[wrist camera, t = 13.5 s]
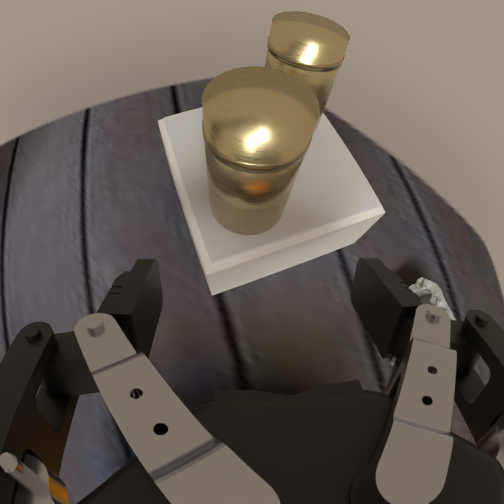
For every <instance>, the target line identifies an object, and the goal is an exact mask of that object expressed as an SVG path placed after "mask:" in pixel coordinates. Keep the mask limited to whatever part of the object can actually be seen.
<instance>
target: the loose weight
mask: <svg viewBox="0 0 504 504" xmlns="http://www.w3.org/2000/svg"><path fill="white" fill-rule="evenodd" d="M319 113H320V107H319V102H318V99H317V97H316V95H315V94H314V92H313V91H312V90H311V89H310V88H309V86H307V85H306V84H305V83H304V82H303V81H301V80H300V79H298V78H296V77H295V76H293V75H291V74H288V73H286V72H283V71H280V70H277V69H272V68H267V67H242V68H237V69H233V70H229V71H227V72H224V73H222V74H220V75H219V76H217V77H215V78H214V79H213V80H212V81H211V82H210V83H209V84H208V85H207V86H206V88H205V90H204V92H203V95H202V114H203V120H202V130H203V139H204V142H205V155H206V167H207V179H208V190H209V201H210V208H211V212H212V214H213V216H214V218H215V219H216V220H217V222H218V223H219V224H220V225H221V226H223V227H224V228H225V229H227V230H229V231H231V232H234V233H236V234H241V235H256V234H260V233H263V232H266V231H268V230H269V229H271V228H272V227H274V226H275V225H276V224H277V223H278V221H279V220H280V218H281V217H282V214H283V212H284V209H285V206H286V204H287V201H288V198H289V196H290V193H291V190H292V188H293V185H294V182H295V180H296V177H297V174H298V172H299V169H300V166H301V164H302V161H303V158H304V156H305V154H306V152H307V150H308V148H309V145H310V142H311V139H312V135H313V131H314V128H315V126H316V123H317V120H318V117H319Z"/></svg>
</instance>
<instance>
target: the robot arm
mask: <svg viewBox="0 0 504 504" xmlns="http://www.w3.org/2000/svg"><path fill="white" fill-rule="evenodd" d="M351 300H352V304H353V306H354V308H355V310H356V312H357V313H358V315H359V317H360V318H361V320H362V322H363V324H364V325H365V327H366V329H367V331H368V332H369V334H370V336H371V338H372V340H373V341H374V343H375V345H376V347H377V349H378V350H379V352H380V354H381V356H382V358H383V359H384V358H390V357H395V358H396V361H395V363H394V365H393V368H392V371H391V374H390V377H389V380H388V383H387V386H386V389H385V392H384V394H383V393H380V392H375V391H370V390H363V389H362V387H361V385H360V382H359V380H354V381H347V382H340V383H333V384H326V385H323V386H320V387H317V388H314V389H311V390H308V391H305V392H302V393H299V394H295V395H283V394H275V393H268V392H261V391H254V390H243V391H215V401H214V402H209V403H206V404H203V405H199V406H197V407H195V408H192V409H190V410H188V409H187V408H186V406H185V405H184V404H183V403H182V402H181V401H180V399H179V398H178V397H177V396H176V394H175V393H174V392H173V391H172V390H171V388H170V387H169V386H168V385H167V383H166V382H165V381H164V379H163V378H162V377H161V376H160V374H159V373H158V372H157V370H156V369H155V368H154V366H153V365H152V364H151V362H150V361H149V360H148V358H149V354H150V350H151V346H152V343H153V339H154V335H155V331H156V328H157V324H158V321H159V317H160V313H161V310H162V301H163V299H162V289H161V282H160V275H159V267H158V262H157V260H156V259H138V260H137V261H136V263H135V265H134V266H133V268H132V270H131V272H124V273H123V274H121V275H120V276H119V277H117V278H116V280H115V281H114V283H113V285H112V288H110V290H109V292H108V294H107V295H106V297H105V299H104V301H103V302H102V304H101V306H100V308H99V310H98V311H97V313H96V314H91V315H88V316H86V317H84V318H83V319H81V320H80V321H79V322H78V323H77V324H76V326H75V330H74V331H72V332H66V333H59V334H54V333H53V330H52V328H51V326H50V325H49V324H48V323H45V322H34V323H31V324H29V325H27V326H25V327H24V328H22V329H21V330H20V332H19V333H18V334H17V336H16V338H15V339H14V341H13V343H12V344H11V346H10V348H9V349H8V351H7V353H6V354H5V356H4V358H3V360H2V361H1V363H0V504H68V492H67V488H66V486H65V484H64V482H63V481H62V480H61V479H60V478H59V472H60V467H61V463H62V458H63V454H64V449H65V445H66V441H67V437H68V433H69V429H70V425H71V422H72V418H73V415H74V411H75V408H76V404H77V401H78V398H79V395H82V394H89V393H97V392H101V394H102V396H103V398H104V400H105V402H106V404H107V406H108V408H109V410H110V412H111V414H112V415H113V417H114V419H115V421H116V423H117V424H118V426H119V428H120V430H121V431H122V433H123V435H124V436H125V438H126V440H127V441H128V443H129V445H130V446H131V448H132V449H133V451H134V453H135V454H136V455H135V456H134V457H133V458H132V459H131V460H130V461H129V462H127V463H126V464H125V465H124V466H123V467H122V468H120V469H119V470H118V471H117V472H116V473H114V474H113V475H112V476H111V477H110V478H108V479H107V480H106V481H105V482H103V483H102V484H101V485H100V486H99V487H97V488H96V489H95V490H94V491H92V492H91V493H90V494H88V495H87V496H86V497H85V498H83V499H82V500H81V501H79V502H78V503H77V504H504V331H503V330H502V329H501V328H500V326H499V325H498V324H497V323H496V322H495V321H494V320H493V318H492V317H491V316H489V315H488V314H487V313H485V312H483V311H480V310H470V311H468V312H467V314H466V317H465V319H464V321H457V320H450V316H449V315H448V313H447V312H446V311H445V310H443V309H442V308H440V307H438V306H435V305H432V304H423V303H422V302H421V300H420V299H419V298H418V297H417V296H416V295H415V294H414V292H413V291H412V290H411V289H409V287H408V286H407V284H406V283H404V281H403V280H402V279H401V278H400V277H399V276H398V275H397V274H396V273H394V272H392V271H391V270H389V269H387V267H386V266H385V265H384V264H383V263H382V262H381V261H380V260H379V259H378V258H360V259H359V261H358V263H357V267H356V272H355V277H354V282H353V286H352V291H351ZM480 356H481V357H482V358H483V360H484V361H485V363H486V364H487V366H488V367H489V369H490V380H489V382H488V383H487V385H486V386H485V385H484V383H483V382H482V380H481V379H480V377H479V375H478V374H477V372H476V371H475V369H474V366H475V365H476V363H477V361H478V360H479V358H480ZM40 385H41V388H40V390H39V393H38V395H37V398H36V394H37V392H38V389H39V387H40ZM454 400H455V402H456V404H457V406H458V408H459V410H460V412H461V414H462V416H463V417H464V419H465V421H466V423H467V425H468V427H469V430H470V432H471V434H472V436H473V438H474V440H475V442H476V444H477V446H476V445H474V444H472V443H470V442H469V441H467V440H465V439H463V438H461V437H460V436H458V435H456V434H454V433H452V432H451V431H450V425H451V418H452V410H453V401H454Z"/></svg>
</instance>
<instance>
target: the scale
mask: <svg viewBox="0 0 504 504" xmlns="http://www.w3.org/2000/svg"><path fill="white" fill-rule="evenodd" d="M202 120H203V114H202V107H201V108H197V109H194V110H190V111H186V112H182V113H179V114H175V115H172V116H168V117H165V118H164V119H162V120H158V124H159V128H160V132H161V136H162V140H163V144H164V148H165V152H166V156H167V160H168V164H169V167H170V170H171V174H172V177H173V180H174V184H175V187H176V190H177V193H178V197H179V200H180V203H181V206H182V209H183V212H184V215H185V219H186V222H187V225H188V228H189V231H190V234H191V237H192V240H193V243H194V246H195V249H196V252H197V255H198V258H199V260H200V263H201V266H202V269H203V272H204V275H205V278H206V280H207V283H208V286H209V289H210V292H211V294H212V295H215V294H218V293H221V292H224V291H226V290H229V289H232V288H235V287H238V286H240V285H243V284H246V283H249V282H251V281H254V280H257V279H260V278H263V277H265V276H268V275H271V274H273V273H276V272H279V271H282V270H284V269H287V268H290V267H292V266H295V265H298V264H300V263H303V262H306V261H308V260H311V259H314V258H316V257H319V256H322V255H324V254H327V253H330V252H332V251H335V250H337V249H340V248H343V247H345V246H348V245H350V244H353V243H355V242H356V241H357V240H358V239H359V238H360V237H361V236H362V235H363V234H364V233H365V232H366V231H367V230H368V229H369V228H370V227H371V226H372V225H373V224H374V223H375V222H376V221H377V220H378V219H379V218H380V217H381V216H382V215H383V214H384V213H385V211H384V209H383V207H382V205H381V204H380V202H379V200H378V198H377V196H376V195H375V193H374V191H373V189H372V188H371V186H370V184H369V183H368V181H367V179H366V178H365V176H364V174H363V173H362V171H361V169H360V168H359V166H358V164H357V163H356V161H355V160H354V158H353V156H352V155H351V153H350V152H349V150H348V149H347V147H346V146H345V144H344V142H343V141H342V139H341V138H340V136H339V135H338V133H337V132H336V131H335V129H334V128H333V126H332V125H331V123H330V122H329V120H328V119H327V118H326V116H325V115H324V113H323V114H322V116H321V119H320V122H319V124H318V127H317V129H316V131H315V132H314V133H313V135H312V139H311V142H310V145H309V148H308V150H307V152H306V154H305V156H304V158H303V161H302V164H301V166H300V169H299V172H298V174H297V177H296V180H295V182H294V185H293V188H292V190H291V193H290V196H289V198H288V201H287V204H286V206H285V209H284V212H283V214H282V217H281V218H280V220H279V221H278V223H277V224H276V225H275V226H274V227H272V228H271V229H269V230H268V231H266V232H263V233H260V234H256V235H241V234H236V233H234V232H231V231H229V230H227V229H225V228H224V227H223V226H221V225H220V224H219V223H218V222H217V220H216V219H215V218H214V216H213V214H212V212H211V208H210V201H209V190H208V179H207V167H206V155H205V142H204V139H203V130H202Z"/></svg>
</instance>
